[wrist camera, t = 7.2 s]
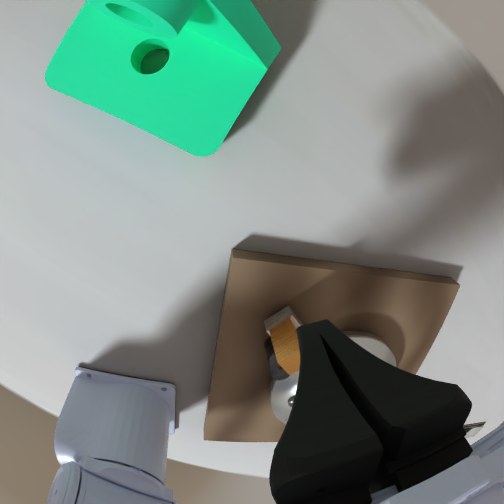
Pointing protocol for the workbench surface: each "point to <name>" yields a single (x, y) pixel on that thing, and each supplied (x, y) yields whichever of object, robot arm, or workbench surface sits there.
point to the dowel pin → (274, 362)
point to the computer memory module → (473, 429)
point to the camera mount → (167, 65)
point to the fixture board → (309, 311)
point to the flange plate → (289, 357)
